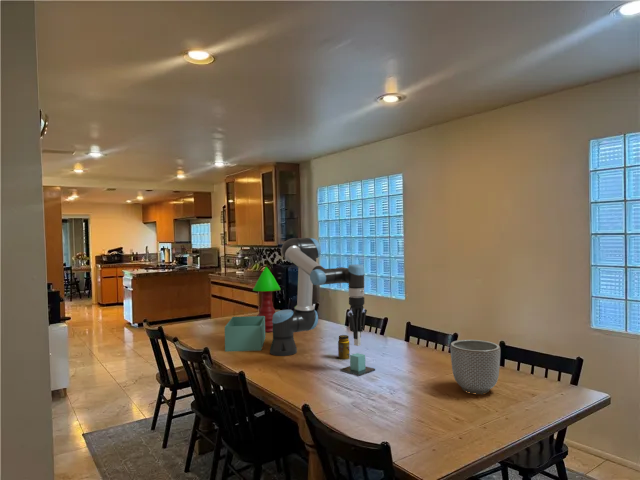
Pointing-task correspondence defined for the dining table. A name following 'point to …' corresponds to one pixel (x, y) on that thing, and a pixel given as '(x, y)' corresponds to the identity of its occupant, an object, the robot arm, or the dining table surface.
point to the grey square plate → (358, 373)
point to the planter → (475, 364)
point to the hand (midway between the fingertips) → (357, 345)
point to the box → (245, 333)
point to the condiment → (343, 348)
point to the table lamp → (267, 297)
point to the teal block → (357, 362)
